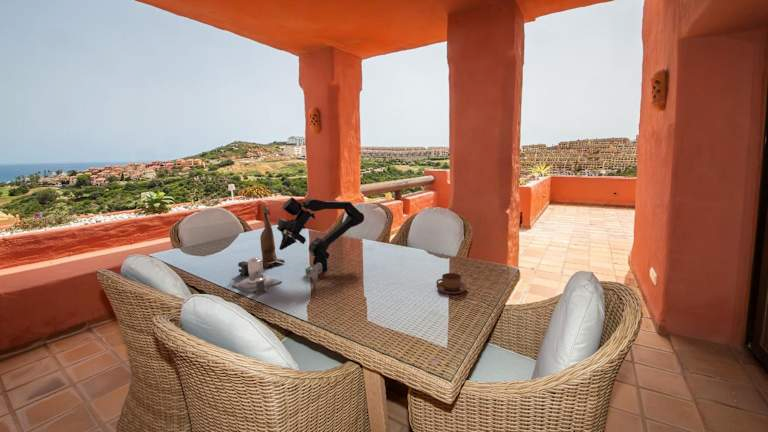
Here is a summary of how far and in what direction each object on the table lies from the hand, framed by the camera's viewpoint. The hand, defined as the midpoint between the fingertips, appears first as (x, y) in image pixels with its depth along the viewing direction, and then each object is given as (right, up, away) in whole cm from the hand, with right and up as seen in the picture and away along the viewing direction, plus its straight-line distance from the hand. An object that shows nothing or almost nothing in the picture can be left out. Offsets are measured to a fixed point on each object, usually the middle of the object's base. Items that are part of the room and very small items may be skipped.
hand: (280, 249), depth 158 cm
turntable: (-8, -15, -6) cm, 18 cm away
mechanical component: (+19, -15, -13) cm, 27 cm away
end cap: (-16, -13, +9) cm, 23 cm away
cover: (-9, -13, -6) cm, 17 cm away
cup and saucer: (+75, -15, -18) cm, 78 cm away
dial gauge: (-3, -16, -15) cm, 22 cm away
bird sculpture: (-12, -10, +23) cm, 28 cm away
